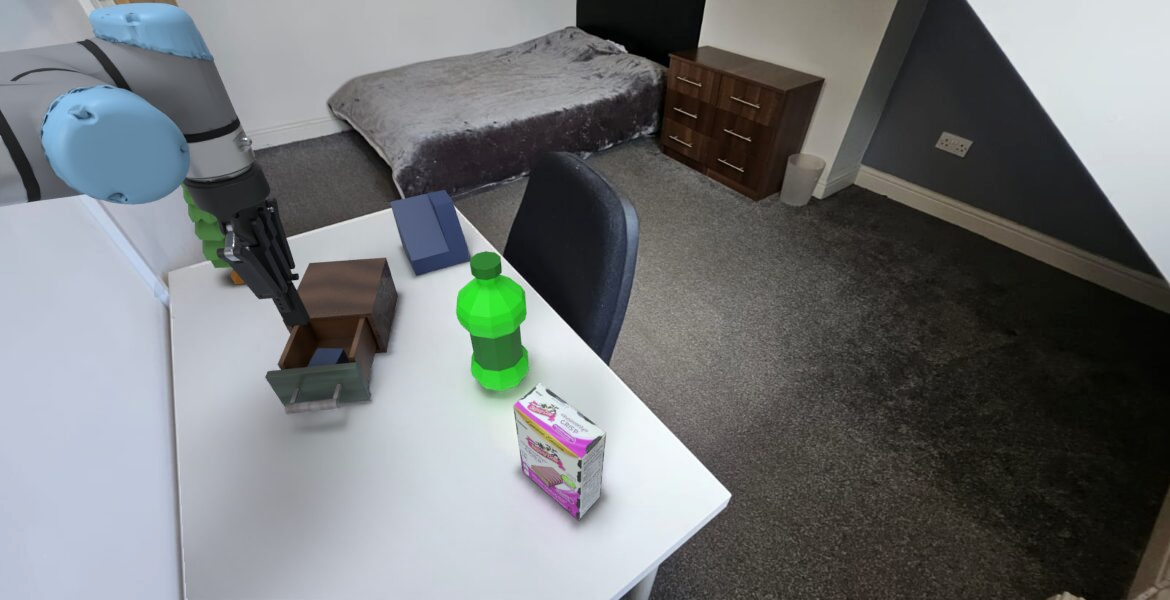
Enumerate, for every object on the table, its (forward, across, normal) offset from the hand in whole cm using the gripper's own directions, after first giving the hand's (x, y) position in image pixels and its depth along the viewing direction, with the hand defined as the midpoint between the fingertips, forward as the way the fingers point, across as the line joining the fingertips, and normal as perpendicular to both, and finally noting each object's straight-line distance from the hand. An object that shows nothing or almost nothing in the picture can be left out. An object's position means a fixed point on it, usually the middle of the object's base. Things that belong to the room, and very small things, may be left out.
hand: (298, 321), depth 68 cm
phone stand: (+16, +37, -14) cm, 43 cm away
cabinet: (+16, +15, -1) cm, 22 cm away
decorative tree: (+16, +35, +25) cm, 46 cm away
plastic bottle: (+16, -2, -28) cm, 32 cm away
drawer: (+15, +1, 0) cm, 15 cm away
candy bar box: (+16, -22, -35) cm, 44 cm away
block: (+14, +2, 0) cm, 14 cm away
